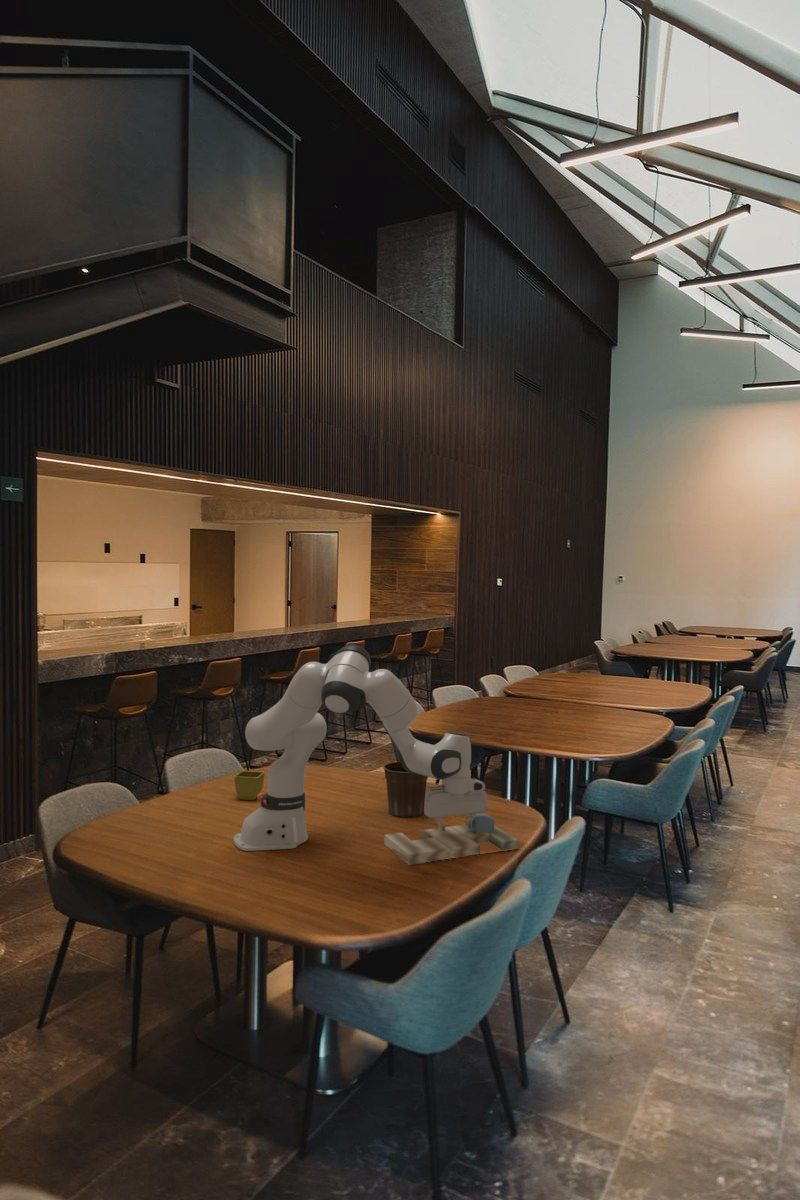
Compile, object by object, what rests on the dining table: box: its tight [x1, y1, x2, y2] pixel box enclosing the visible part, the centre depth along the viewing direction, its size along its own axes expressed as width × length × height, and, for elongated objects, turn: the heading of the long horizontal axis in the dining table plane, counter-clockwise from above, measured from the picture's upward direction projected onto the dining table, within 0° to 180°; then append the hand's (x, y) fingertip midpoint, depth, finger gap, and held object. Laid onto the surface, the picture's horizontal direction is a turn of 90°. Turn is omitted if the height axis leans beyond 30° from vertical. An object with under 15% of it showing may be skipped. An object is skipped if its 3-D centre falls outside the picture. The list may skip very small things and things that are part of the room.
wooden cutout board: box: [383, 824, 519, 866], centre depth 231 cm, size 36×18×3 cm, turn 113°
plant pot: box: [382, 760, 429, 818], centre depth 264 cm, size 16×16×16 cm
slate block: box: [467, 812, 495, 834], centre depth 238 cm, size 6×6×4 cm
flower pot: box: [234, 770, 265, 801], centre depth 276 cm, size 9×9×9 cm
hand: (455, 828), depth 235 cm, fingers open, 8 cm apart
